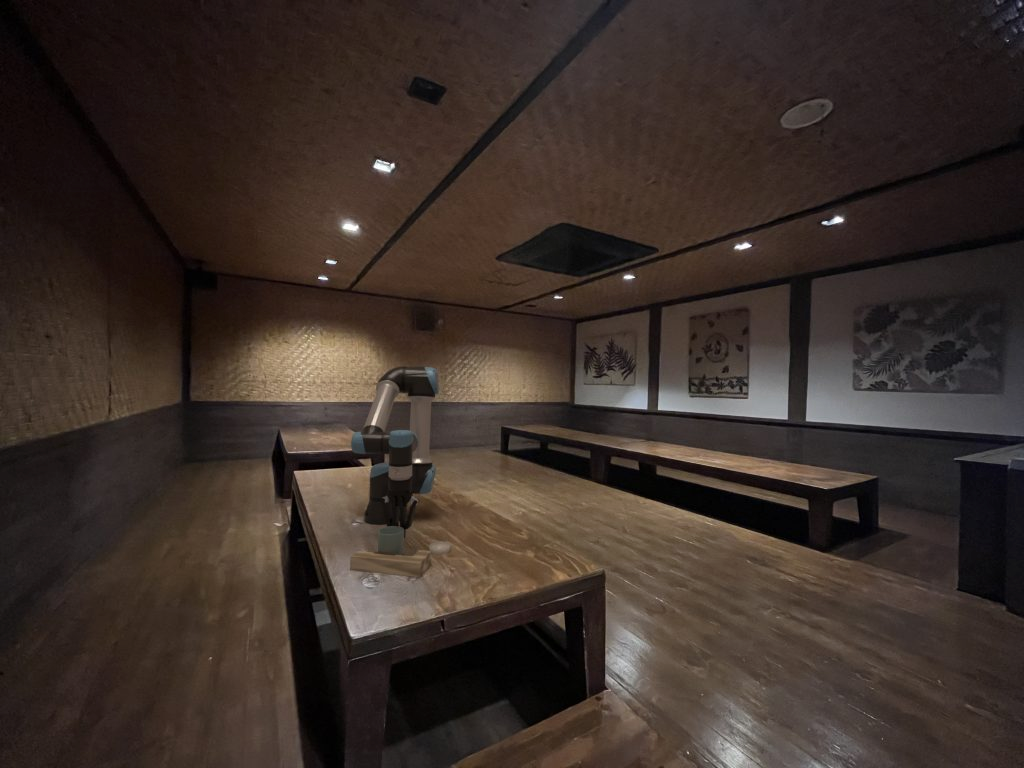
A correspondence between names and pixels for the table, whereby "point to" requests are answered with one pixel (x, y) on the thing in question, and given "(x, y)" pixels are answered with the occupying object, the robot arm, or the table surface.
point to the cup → (391, 540)
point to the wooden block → (391, 563)
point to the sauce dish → (439, 547)
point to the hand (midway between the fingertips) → (398, 549)
